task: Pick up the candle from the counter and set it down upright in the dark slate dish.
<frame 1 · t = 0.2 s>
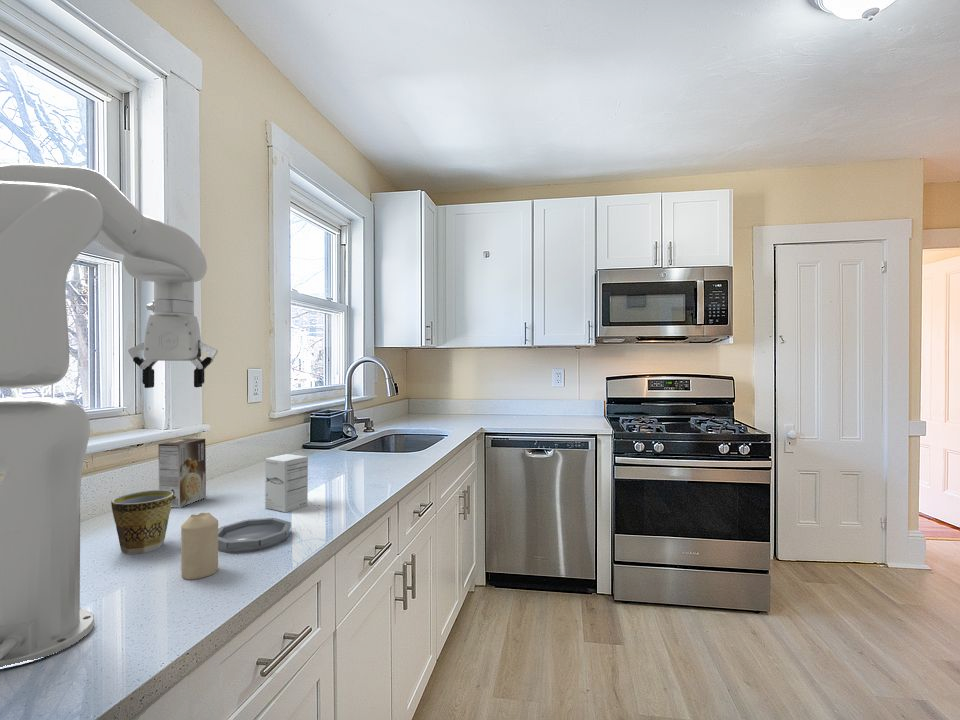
hand: (174, 387, 106), 31 cm above the counter, tool pointing down, fingers open, 9 cm apart
supplement box: (286, 507, 121), on the counter
candle: (199, 573, 83), on the counter
slate dish: (252, 539, 98), on the counter
coffee box: (182, 503, 124), on the counter
ceramic cup: (139, 547, 95), on the counter
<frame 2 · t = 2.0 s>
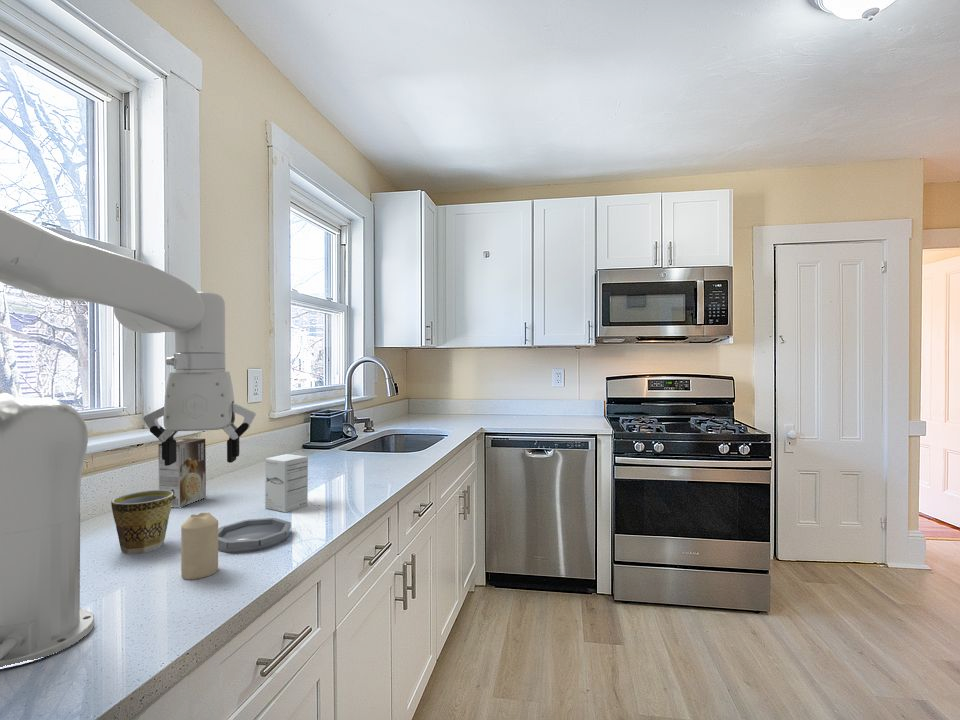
hand: (201, 462, 83), 19 cm above the counter, tool pointing down, fingers open, 9 cm apart
nothing on the counter moved.
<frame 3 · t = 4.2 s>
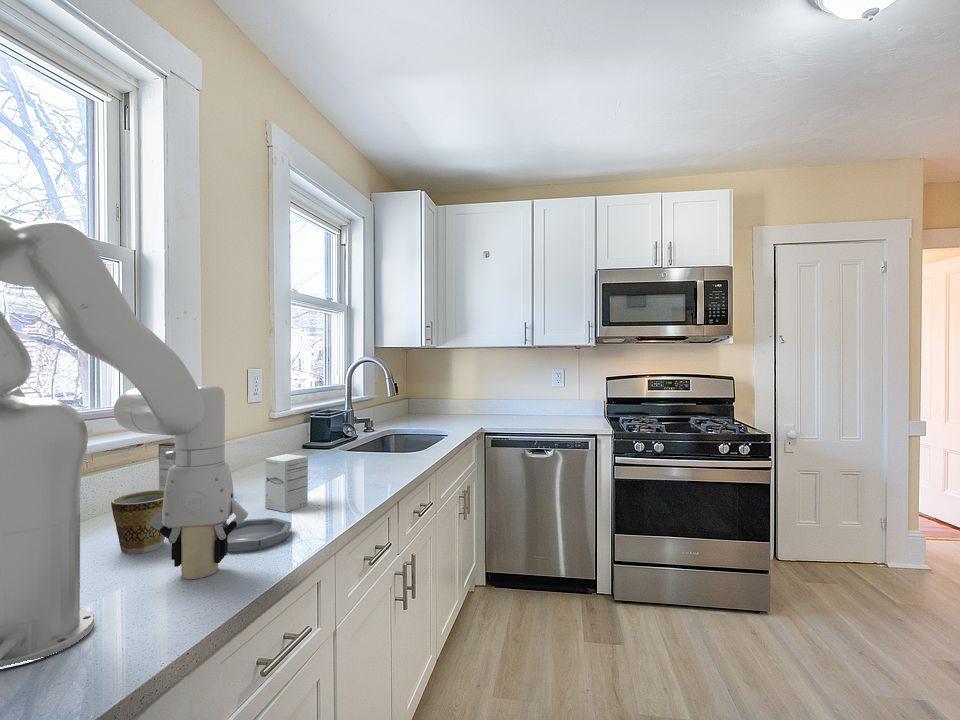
hand: (200, 560, 83), 2 cm above the counter, tool pointing down, fingers closed on candle, 5 cm apart
candle: (199, 573, 83), on the counter, touching gripper
everything else where it was.
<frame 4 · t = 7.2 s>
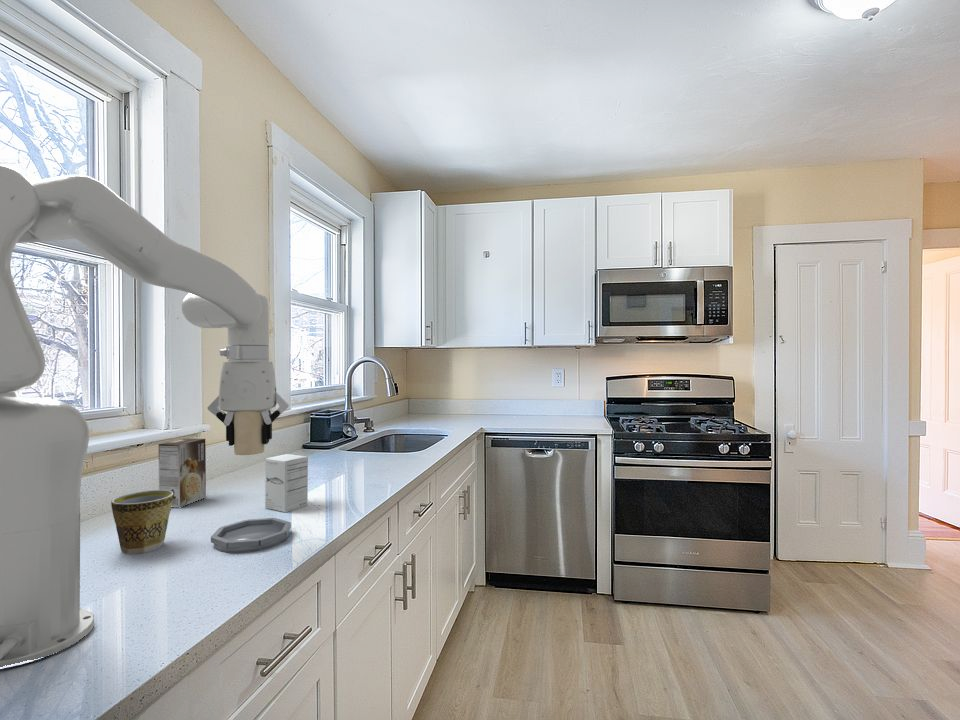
hand: (249, 443, 97), 20 cm above the counter, tool pointing down, fingers closed on candle, 5 cm apart
candle: (249, 453, 97), point 18 cm above the counter, touching gripper
everything else where it was.
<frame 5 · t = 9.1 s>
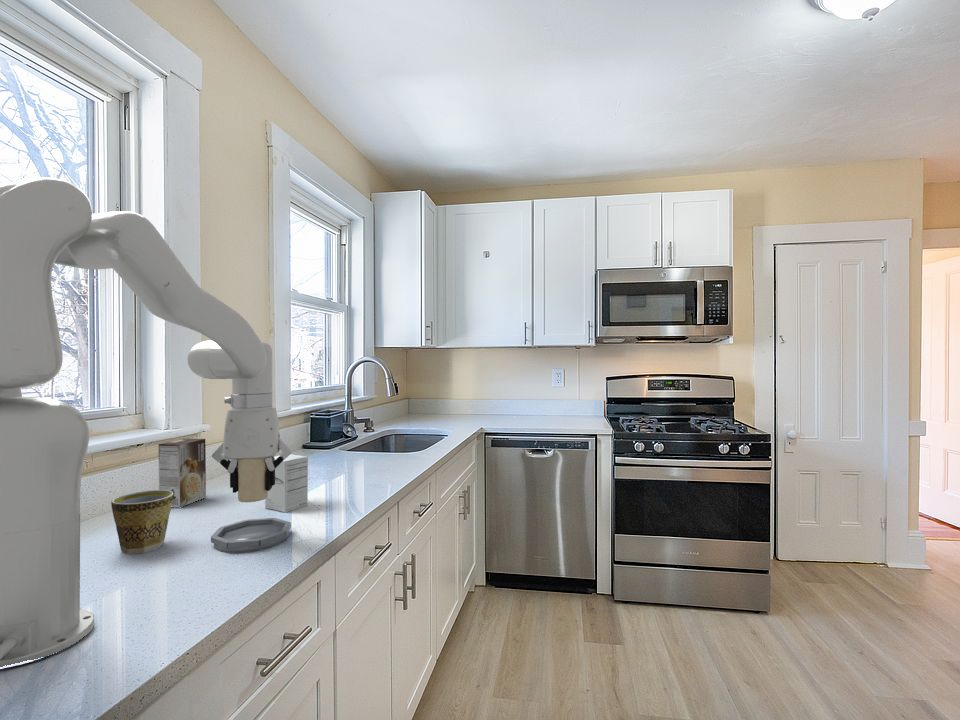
hand: (253, 489, 99), 10 cm above the counter, tool pointing down, fingers closed on candle, 5 cm apart
candle: (253, 499, 99), point 8 cm above the counter, touching gripper
everything else where it was.
when the fingers open (5 cm above the counter, at t = 10.6 s): candle drops 2 cm, resting on slate dish.
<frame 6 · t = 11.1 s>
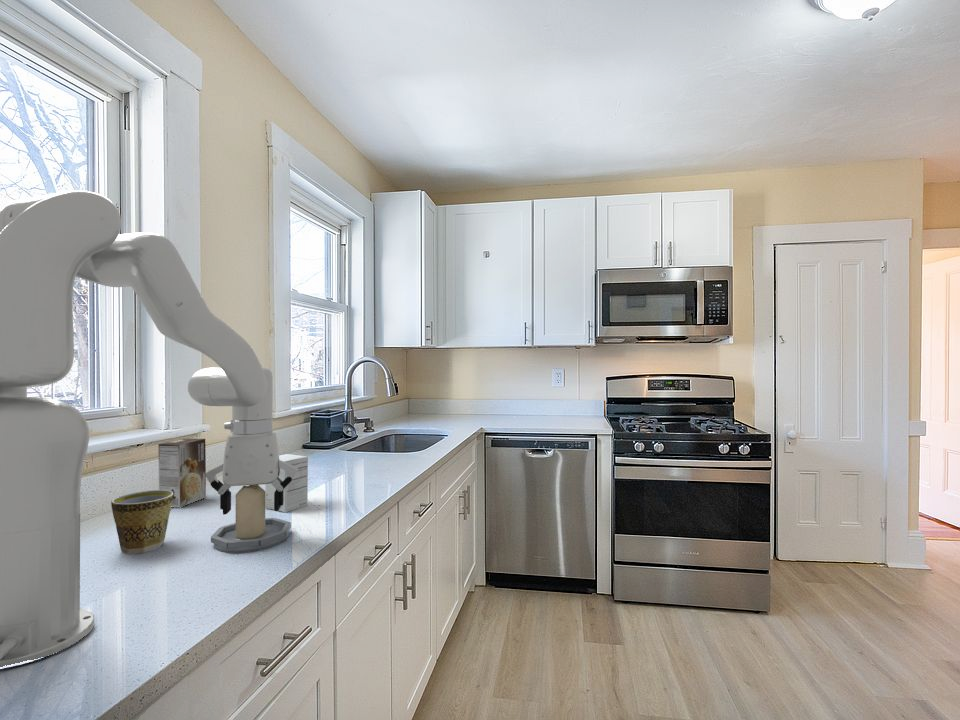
hand: (252, 510, 99), 6 cm above the counter, tool pointing down, fingers open, 9 cm apart
candle: (250, 535, 98), point 1 cm above the counter, touching slate dish
everything else where it was.
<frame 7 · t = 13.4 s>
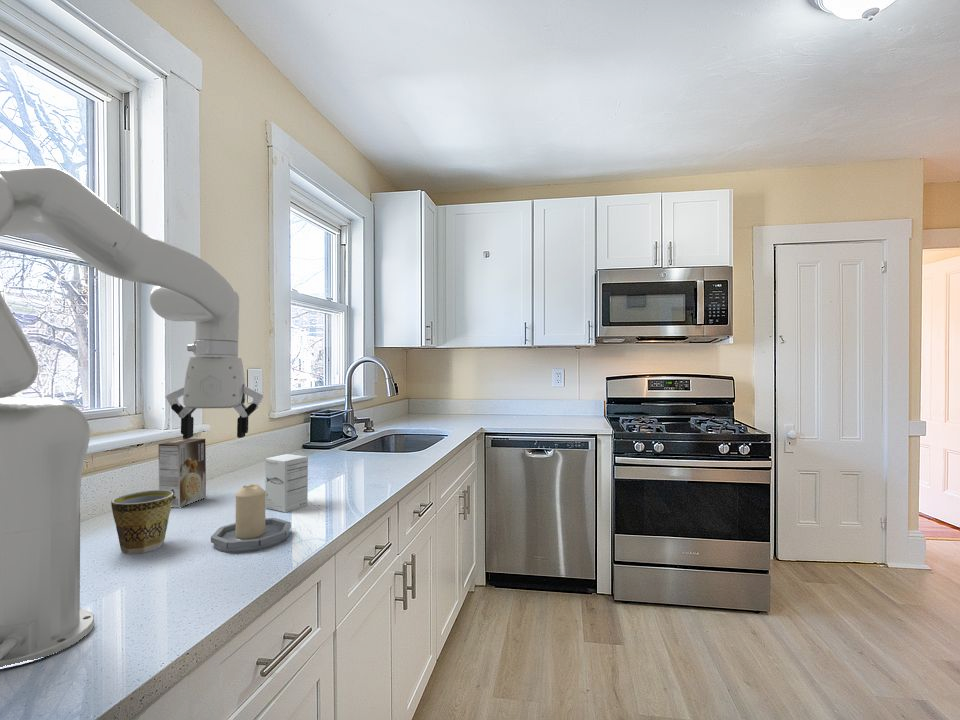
hand: (214, 437, 94), 22 cm above the counter, tool pointing down, fingers open, 9 cm apart
nothing on the counter moved.
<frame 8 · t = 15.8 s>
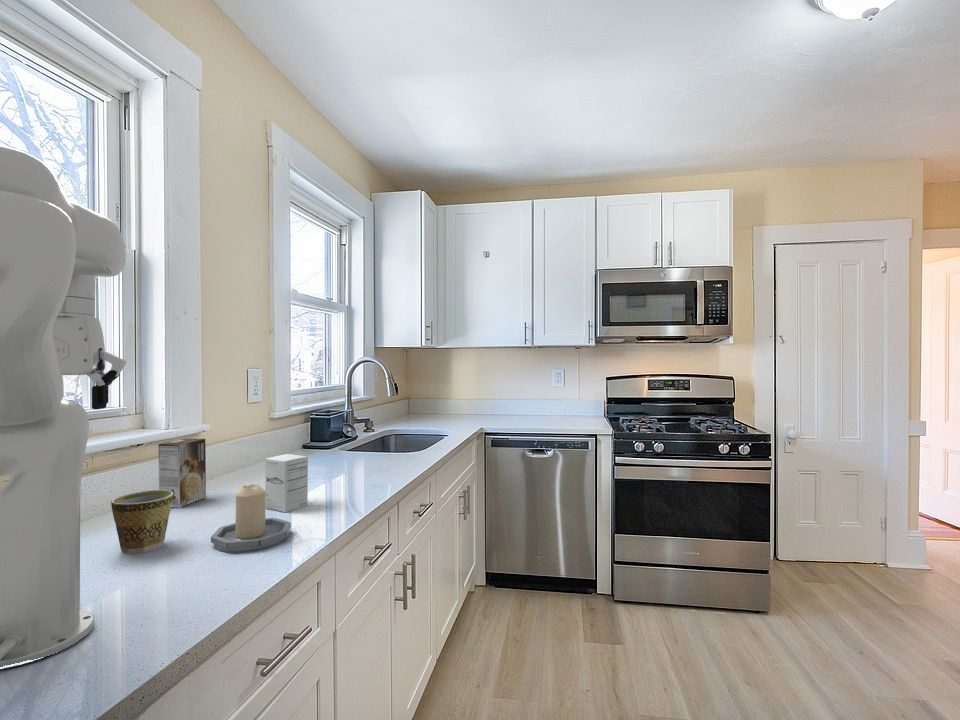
hand: (66, 409, 82), 28 cm above the counter, tool pointing down, fingers open, 9 cm apart
nothing on the counter moved.
at the end: candle inside the target area on the slate dish (0.4 cm from its centre), point 0.8 cm above the slate dish's base; candle tilted 0°; the gripper is holding nothing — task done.
